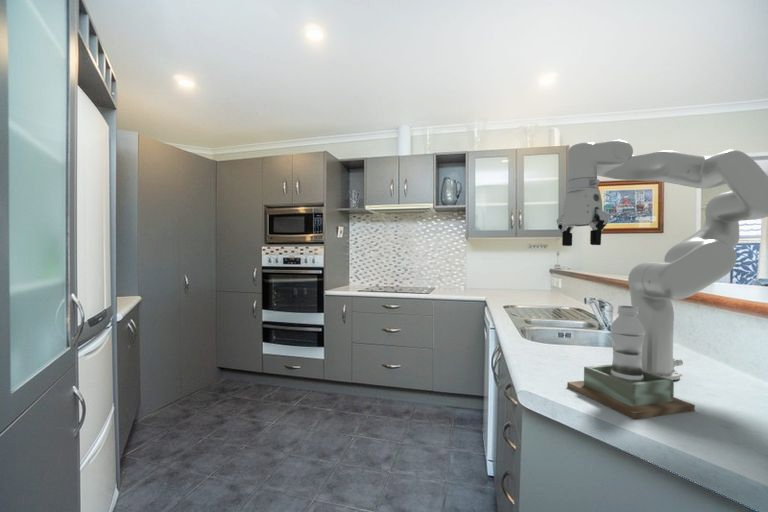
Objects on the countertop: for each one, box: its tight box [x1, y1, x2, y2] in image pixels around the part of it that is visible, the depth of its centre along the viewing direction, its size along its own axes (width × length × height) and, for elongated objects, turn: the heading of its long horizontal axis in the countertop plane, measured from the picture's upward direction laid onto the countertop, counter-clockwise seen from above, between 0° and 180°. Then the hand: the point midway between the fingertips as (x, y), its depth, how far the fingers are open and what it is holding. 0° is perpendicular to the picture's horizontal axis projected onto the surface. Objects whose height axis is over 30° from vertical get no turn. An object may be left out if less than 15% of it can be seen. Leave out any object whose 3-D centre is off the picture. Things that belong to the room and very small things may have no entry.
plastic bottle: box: [609, 305, 645, 383], centre depth 78 cm, size 6×7×20 cm
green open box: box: [566, 364, 696, 420], centre depth 78 cm, size 17×17×6 cm
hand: (580, 245), depth 98 cm, fingers open, 9 cm apart
